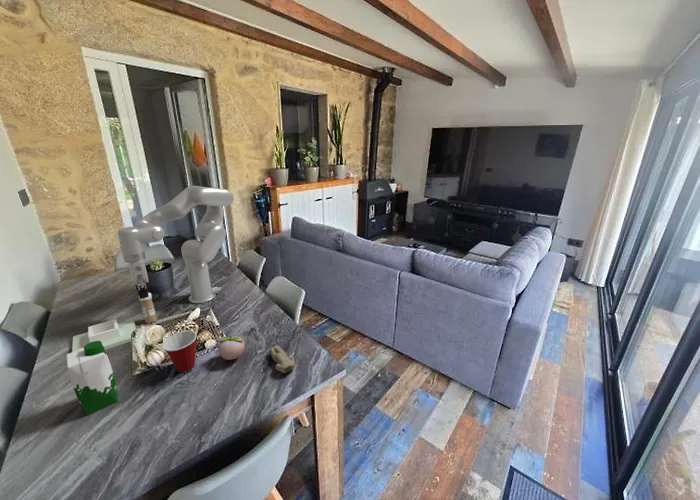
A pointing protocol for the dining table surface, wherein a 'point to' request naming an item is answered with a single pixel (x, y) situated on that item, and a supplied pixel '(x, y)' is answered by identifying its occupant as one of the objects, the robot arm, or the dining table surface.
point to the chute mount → (105, 334)
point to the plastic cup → (181, 349)
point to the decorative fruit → (231, 347)
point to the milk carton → (92, 377)
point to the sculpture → (282, 360)
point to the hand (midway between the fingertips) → (142, 293)
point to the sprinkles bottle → (148, 309)
